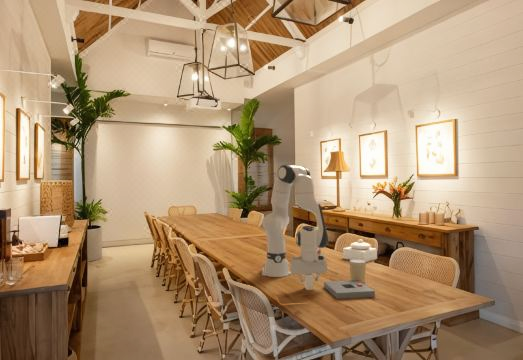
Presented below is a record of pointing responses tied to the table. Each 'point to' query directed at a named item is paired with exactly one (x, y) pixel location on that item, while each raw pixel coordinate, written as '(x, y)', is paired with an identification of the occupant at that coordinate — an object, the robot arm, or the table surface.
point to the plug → (309, 281)
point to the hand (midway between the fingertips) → (308, 281)
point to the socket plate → (349, 289)
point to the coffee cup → (357, 270)
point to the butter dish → (360, 251)
